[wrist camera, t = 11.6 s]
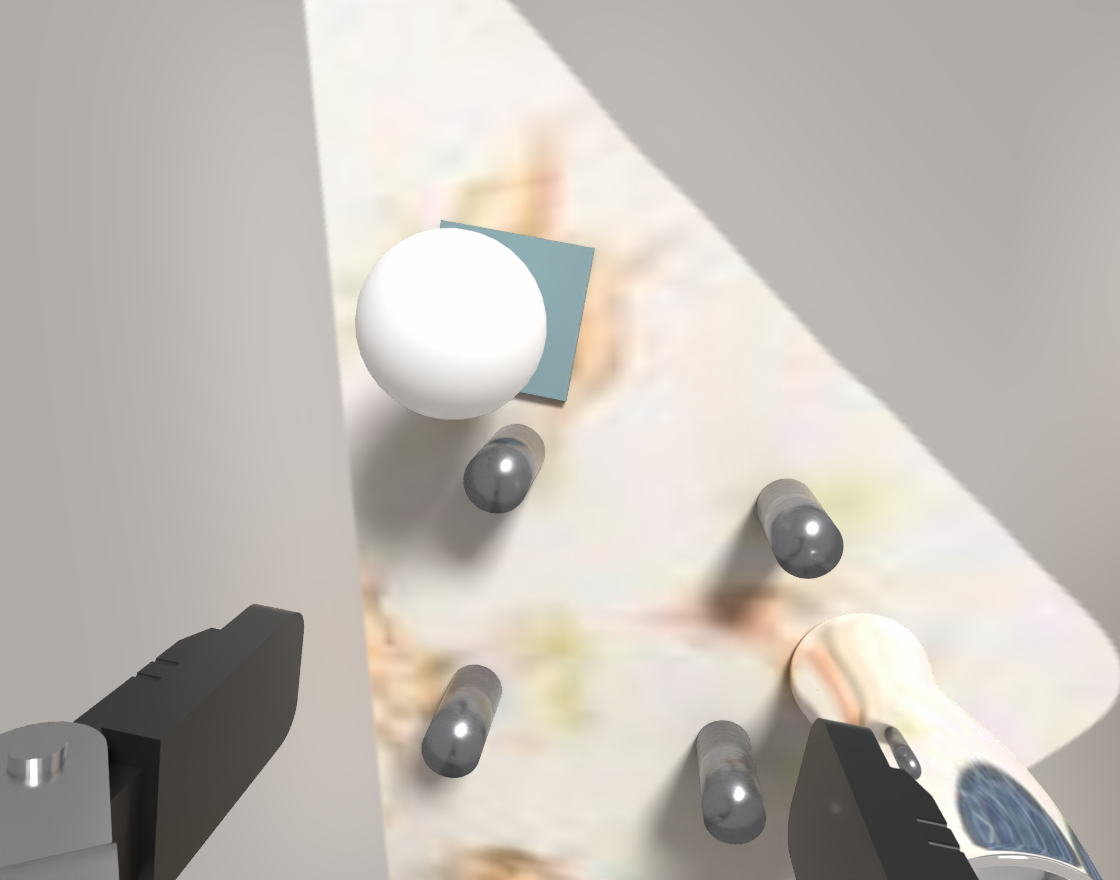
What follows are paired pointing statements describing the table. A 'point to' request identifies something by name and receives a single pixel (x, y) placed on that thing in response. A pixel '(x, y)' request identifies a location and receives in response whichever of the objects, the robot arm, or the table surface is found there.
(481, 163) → the table surface
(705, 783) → the spacers
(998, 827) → the beer glass
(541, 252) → the mat
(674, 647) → the table surface
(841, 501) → the table surface
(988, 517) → the table surface
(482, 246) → the lightbulb
